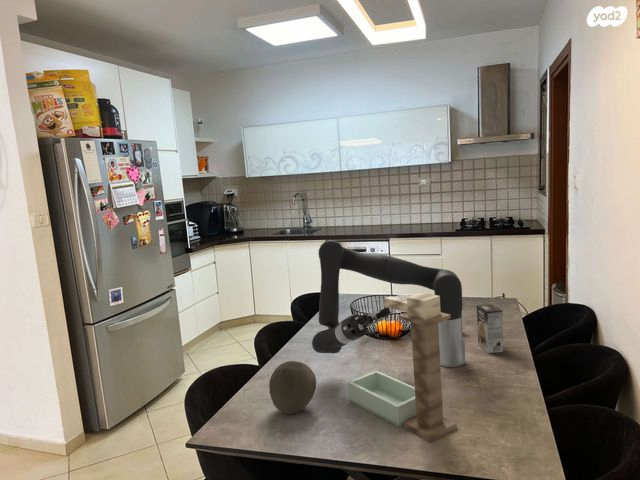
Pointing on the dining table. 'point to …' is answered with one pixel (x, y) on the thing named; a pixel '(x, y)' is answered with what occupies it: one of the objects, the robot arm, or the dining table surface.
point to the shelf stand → (427, 379)
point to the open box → (384, 397)
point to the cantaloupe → (292, 386)
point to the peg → (416, 305)
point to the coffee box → (490, 328)
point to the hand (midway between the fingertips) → (378, 313)
